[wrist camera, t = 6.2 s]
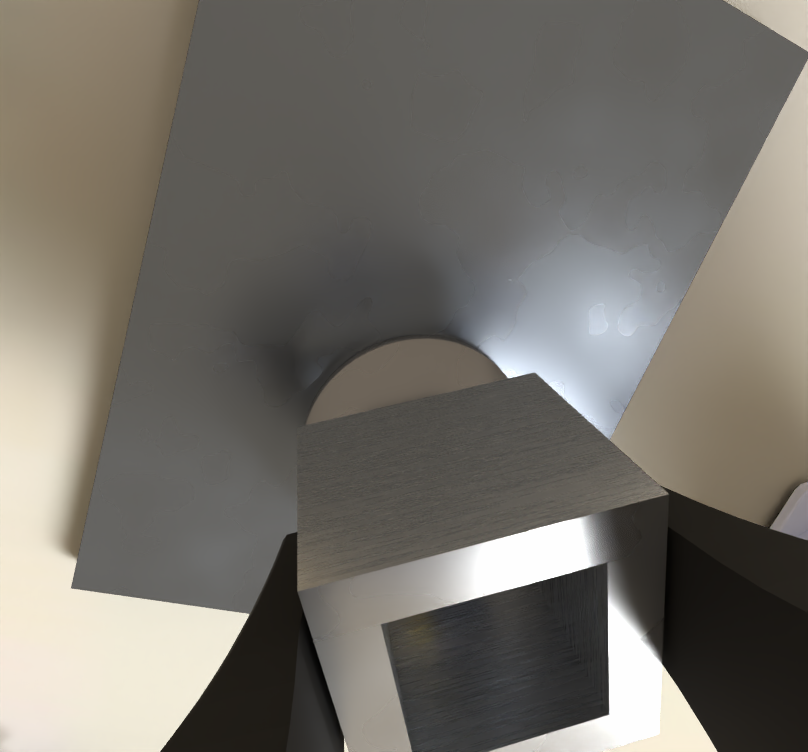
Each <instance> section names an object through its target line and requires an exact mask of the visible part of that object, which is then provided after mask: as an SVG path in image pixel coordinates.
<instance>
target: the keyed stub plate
mask: <svg viewBox="0 0 808 752" xmlns="http://www.w3.org/2000/svg"><path fill="white" fill-rule="evenodd" d="M807 60H808V52H807V51H806V50H804V49H802V48H801V47H799V46H797V45H796V44H794V43H793V42H791V41H789V40H788V39H786V38H784V37H783V36H781V35H779V34H778V33H776V32H774V31H773V30H771V29H769V28H768V27H766V26H765V25H763V24H761V23H760V22H758V21H756V20H755V19H753V18H751V17H750V16H748V15H746V14H745V13H743V12H741V11H740V10H738V9H736V8H735V7H733V6H732V5H730V4H728V3H727V2H725V1H723V0H199V3H198V8H197V12H196V17H195V21H194V26H193V30H192V35H191V40H190V44H189V49H188V53H187V58H186V63H185V67H184V72H183V76H182V81H181V86H180V90H179V95H178V99H177V104H176V109H175V113H174V118H173V122H172V127H171V132H170V136H169V141H168V145H167V150H166V155H165V159H164V164H163V168H162V173H161V177H160V182H159V187H158V191H157V196H156V200H155V205H154V210H153V214H152V219H151V223H150V228H149V233H148V237H147V242H146V246H145V251H144V256H143V260H142V265H141V269H140V274H139V279H138V283H137V288H136V292H135V297H134V301H133V306H132V311H131V315H130V320H129V324H128V329H127V334H126V338H125V343H124V347H123V352H122V357H121V361H120V366H119V370H118V375H117V380H116V384H115V389H114V393H113V398H112V403H111V407H110V412H109V416H108V421H107V425H106V430H105V435H104V439H103V444H102V448H101V453H100V458H99V462H98V467H97V471H96V476H95V481H94V485H93V490H92V494H91V499H90V504H89V508H88V513H87V517H86V522H85V527H84V531H83V536H82V540H81V545H80V550H79V554H78V559H77V563H76V568H75V572H74V577H73V582H72V586H71V588H73V589H80V590H87V591H94V592H101V593H108V594H115V595H122V596H129V597H136V598H143V599H150V600H157V601H164V602H171V603H178V604H185V605H192V606H199V607H206V608H213V609H220V610H227V611H234V612H241V613H248V614H250V613H251V611H252V609H253V607H254V605H255V603H256V601H257V599H258V597H259V595H260V593H261V591H262V589H263V586H264V584H265V582H266V580H267V578H268V575H269V573H270V571H271V569H272V566H273V564H274V562H275V559H276V557H277V554H278V552H279V549H280V547H281V544H282V541H283V539H284V538H285V537H286V535H287V534H291V533H295V532H297V427H300V426H304V425H308V424H313V423H317V422H321V421H326V420H330V419H334V418H339V417H343V416H347V415H352V414H356V413H360V412H365V411H369V410H373V409H378V408H382V407H387V406H391V405H395V404H400V403H404V402H408V401H413V400H417V399H421V398H426V397H430V396H434V395H439V394H443V393H447V392H452V391H456V390H460V389H465V388H469V387H473V386H478V385H482V384H486V383H491V382H495V381H499V380H504V379H508V378H513V377H517V376H521V375H526V374H530V373H534V372H535V373H536V374H537V375H538V376H539V377H541V378H542V379H543V380H544V381H545V382H546V383H547V384H548V385H549V386H550V387H552V388H553V389H554V390H555V391H556V392H557V393H558V394H559V395H560V396H561V397H563V398H564V399H565V400H566V401H567V402H568V403H569V404H570V405H571V406H573V407H574V408H575V409H576V410H577V411H578V412H579V413H580V414H581V415H582V416H584V417H585V418H586V419H587V420H588V421H589V422H590V423H591V424H592V425H593V426H595V427H596V428H597V429H598V430H599V431H600V432H601V433H602V434H603V435H604V436H606V437H607V438H608V439H609V440H610V438H611V436H612V434H613V432H614V431H615V429H616V427H617V425H618V423H619V421H620V419H621V417H622V415H623V413H624V411H625V409H626V408H627V406H628V404H629V402H630V400H631V398H632V396H633V394H634V392H635V390H636V388H637V386H638V384H639V383H640V381H641V379H642V377H643V375H644V373H645V371H646V369H647V367H648V365H649V363H650V361H651V359H652V358H653V356H654V354H655V352H656V350H657V348H658V346H659V344H660V342H661V340H662V338H663V336H664V334H665V333H666V331H667V329H668V327H669V325H670V323H671V321H672V319H673V317H674V315H675V313H676V311H677V309H678V308H679V306H680V304H681V302H682V300H683V298H684V296H685V294H686V292H687V290H688V288H689V286H690V284H691V283H692V281H693V279H694V277H695V275H696V273H697V271H698V269H699V267H700V265H701V263H702V261H703V259H704V258H705V256H706V254H707V252H708V250H709V248H710V246H711V244H712V242H713V240H714V238H715V236H716V234H717V233H718V231H719V229H720V227H721V225H722V223H723V221H724V219H725V217H726V215H727V213H728V211H729V209H730V208H731V206H732V204H733V202H734V200H735V198H736V196H737V194H738V192H739V190H740V188H741V186H742V185H743V183H744V181H745V179H746V177H747V175H748V173H749V171H750V169H751V167H752V165H753V163H754V161H755V160H756V158H757V156H758V154H759V152H760V150H761V148H762V146H763V144H764V142H765V140H766V138H767V136H768V135H769V133H770V131H771V129H772V127H773V125H774V123H775V121H776V119H777V117H778V115H779V113H780V111H781V110H782V108H783V106H784V104H785V102H786V100H787V98H788V96H789V94H790V92H791V90H792V88H793V86H794V85H795V83H796V81H797V79H798V77H799V75H800V73H801V71H802V69H803V67H804V65H805V63H806V61H807Z"/></svg>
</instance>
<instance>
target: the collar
mask: <svg viewBox="0 0 808 752" xmlns="http://www.w3.org/2000/svg"><path fill="white" fill-rule="evenodd" d="M668 509H669V494H668V493H667V492H666V491H665V490H664V489H663V488H662V487H661V486H660V485H658V484H657V483H656V482H655V481H654V480H653V479H652V478H651V477H650V476H649V475H647V474H646V473H645V472H644V471H643V470H642V469H641V468H640V467H639V466H638V465H636V464H635V463H634V462H633V461H632V460H631V459H630V458H629V457H628V456H627V455H625V454H624V453H623V452H622V451H621V450H620V449H619V448H618V447H617V446H615V445H614V444H613V443H612V442H611V441H610V440H609V439H608V438H607V437H606V436H604V435H603V434H602V433H601V432H600V431H599V430H598V429H597V428H596V427H595V426H593V425H592V424H591V423H590V422H589V421H588V420H587V419H586V418H585V417H584V416H582V415H581V414H580V413H579V412H578V411H577V410H576V409H575V408H574V407H573V406H571V405H570V404H569V403H568V402H567V401H566V400H565V399H564V398H563V397H561V396H560V395H559V394H558V393H557V392H556V391H555V390H554V389H553V388H552V387H550V386H549V385H548V384H547V383H546V382H545V381H544V380H543V379H542V378H541V377H539V376H538V375H537V374H536V373H535V372H534V373H530V374H526V375H521V376H517V377H513V378H508V379H504V380H499V381H495V382H491V383H486V384H482V385H478V386H473V387H469V388H465V389H460V390H456V391H452V392H447V393H443V394H439V395H434V396H430V397H426V398H421V399H417V400H413V401H408V402H404V403H400V404H395V405H391V406H387V407H382V408H378V409H373V410H369V411H365V412H360V413H356V414H352V415H347V416H343V417H339V418H334V419H330V420H326V421H321V422H317V423H313V424H308V425H304V426H300V427H297V592H298V595H299V598H300V601H301V604H302V607H303V610H304V613H305V617H306V620H307V623H308V626H309V629H310V632H311V635H312V638H313V641H314V645H315V648H316V651H317V654H318V657H319V660H320V663H321V666H322V670H323V673H324V676H325V679H326V682H327V685H328V688H329V691H330V694H331V698H332V701H333V704H334V707H335V710H336V713H337V716H338V719H339V723H340V726H341V729H342V732H343V735H344V738H345V741H346V744H347V748H348V751H349V752H603V751H607V750H610V749H613V748H616V747H619V746H623V745H626V744H629V743H632V742H635V741H639V740H642V739H645V738H648V737H652V736H655V735H658V734H659V722H660V699H661V675H662V651H663V627H664V604H665V580H666V556H667V532H668Z"/></svg>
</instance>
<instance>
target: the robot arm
mask: <svg viewBox="0 0 808 752" xmlns="http://www.w3.org/2000/svg"><path fill="white" fill-rule="evenodd" d="M661 487H662V486H661ZM662 488H663V489H664V490H665V491H666V492H667V493H668V494H669V509H668V532H667V556H666V580H665V604H664V627H663V651H662V664H663V666H664V667H665V669H666V670H667V672H668V673H669V675H670V676H671V677H672V679H673V680H674V682H675V683H676V685H677V686H678V688H679V689H680V691H681V692H682V694H683V696H684V697H685V699H686V701H687V702H688V704H689V705H690V707H691V709H692V710H693V712H694V713H695V715H696V717H697V718H698V720H699V722H700V723H701V725H702V726H703V728H704V730H705V731H706V733H707V734H708V736H709V738H710V740H711V741H712V743H713V745H714V746H715V748H716V750H717V751H718V752H808V482H805V483H802V484H800V485H799V486H798V487H797V488H796V489H795V490H794V492H793V493H792V495H791V496H790V498H789V499H788V501H787V502H786V504H785V505H784V507H783V508H782V510H781V512H780V513H779V515H778V516H777V518H776V519H775V521H774V522H773V524H772V525H771V527H770V528H767V527H763V526H760V525H757V524H754V523H751V522H749V521H746V520H743V519H740V518H737V517H735V516H732V515H730V514H727V513H725V512H722V511H719V510H717V509H714V508H712V507H709V506H706V505H704V504H702V503H699V502H697V501H694V500H692V499H690V498H687V497H685V496H683V495H680V494H678V493H676V492H673V491H671V490H669V489H667V488H664V487H662ZM160 752H344V735H343V732H342V729H341V726H340V723H339V719H338V716H337V713H336V710H335V707H334V704H333V701H332V698H331V694H330V691H329V688H328V685H327V682H326V679H325V676H324V673H323V670H322V666H321V663H320V660H319V657H318V654H317V651H316V648H315V645H314V641H313V638H312V635H311V632H310V629H309V626H308V623H307V620H306V617H305V613H304V610H303V607H302V604H301V601H300V598H299V595H298V592H297V532H295V533H291V534H287V535H286V537H285V538H284V539H283V541H282V544H281V547H280V549H279V552H278V554H277V557H276V559H275V562H274V564H273V566H272V569H271V571H270V573H269V575H268V578H267V580H266V582H265V584H264V586H263V589H262V591H261V593H260V595H259V597H258V599H257V601H256V603H255V605H254V607H253V609H252V611H251V613H250V615H249V617H248V619H247V621H246V623H245V624H244V626H243V628H242V630H241V632H240V633H239V635H238V637H237V639H236V641H235V642H234V644H233V646H232V648H231V650H230V651H229V653H228V655H227V656H226V658H225V660H224V661H223V663H222V665H221V666H220V668H219V670H218V671H217V673H216V674H215V676H214V677H213V679H212V681H211V682H210V684H209V685H208V687H207V688H206V690H205V691H204V693H203V694H202V696H201V697H200V699H199V700H198V701H197V703H196V704H195V706H194V707H193V708H192V710H191V711H190V713H189V714H188V715H187V717H186V718H185V719H184V721H183V722H182V724H181V725H180V726H179V728H178V729H177V730H176V732H175V733H174V734H173V736H172V737H171V738H170V740H169V741H168V742H167V744H166V745H165V746H164V747H163V749H162V750H161V751H160Z"/></svg>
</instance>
